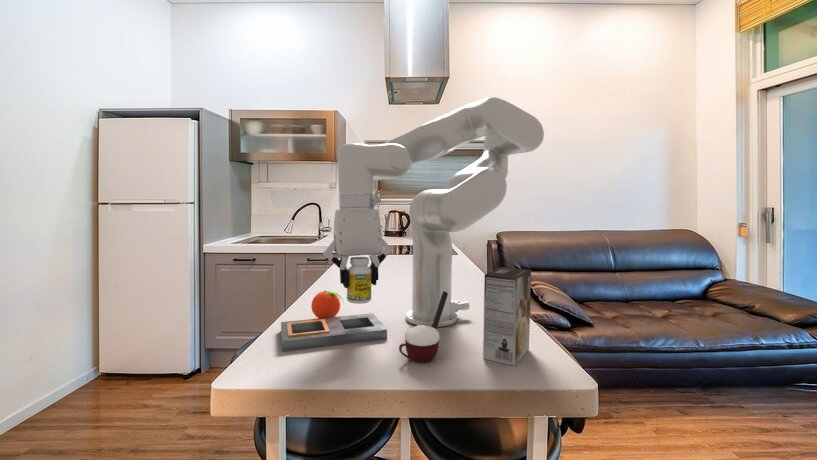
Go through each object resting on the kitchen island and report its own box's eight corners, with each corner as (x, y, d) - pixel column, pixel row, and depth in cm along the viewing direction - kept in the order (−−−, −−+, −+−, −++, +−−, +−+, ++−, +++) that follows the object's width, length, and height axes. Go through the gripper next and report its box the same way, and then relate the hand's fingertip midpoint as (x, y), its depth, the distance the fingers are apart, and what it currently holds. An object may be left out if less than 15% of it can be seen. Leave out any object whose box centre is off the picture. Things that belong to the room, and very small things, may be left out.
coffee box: (498, 343, 78) (500, 266, 77) (529, 350, 75) (532, 269, 74) (481, 359, 70) (483, 273, 69) (516, 367, 67) (519, 277, 66)
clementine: (348, 316, 96) (348, 288, 95) (338, 325, 89) (338, 295, 88) (318, 314, 97) (318, 286, 96) (306, 322, 90) (306, 293, 90)
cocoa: (399, 367, 68) (396, 302, 66) (399, 352, 74) (397, 292, 72) (452, 365, 68) (451, 300, 66) (448, 350, 74) (446, 290, 72)
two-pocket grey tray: (373, 321, 92) (373, 311, 91) (387, 338, 80) (387, 328, 80) (281, 330, 84) (280, 320, 84) (282, 351, 73) (282, 339, 73)
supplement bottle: (364, 296, 88) (365, 255, 87) (375, 302, 83) (376, 258, 82) (342, 299, 85) (343, 256, 84) (353, 305, 80) (354, 260, 79)
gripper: (390, 201, 88) (391, 278, 90) (314, 203, 83) (317, 285, 84) (400, 202, 81) (402, 285, 83) (318, 204, 75) (322, 293, 77)
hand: (359, 284), depth 84 cm, fingers closed on supplement bottle, 5 cm apart
